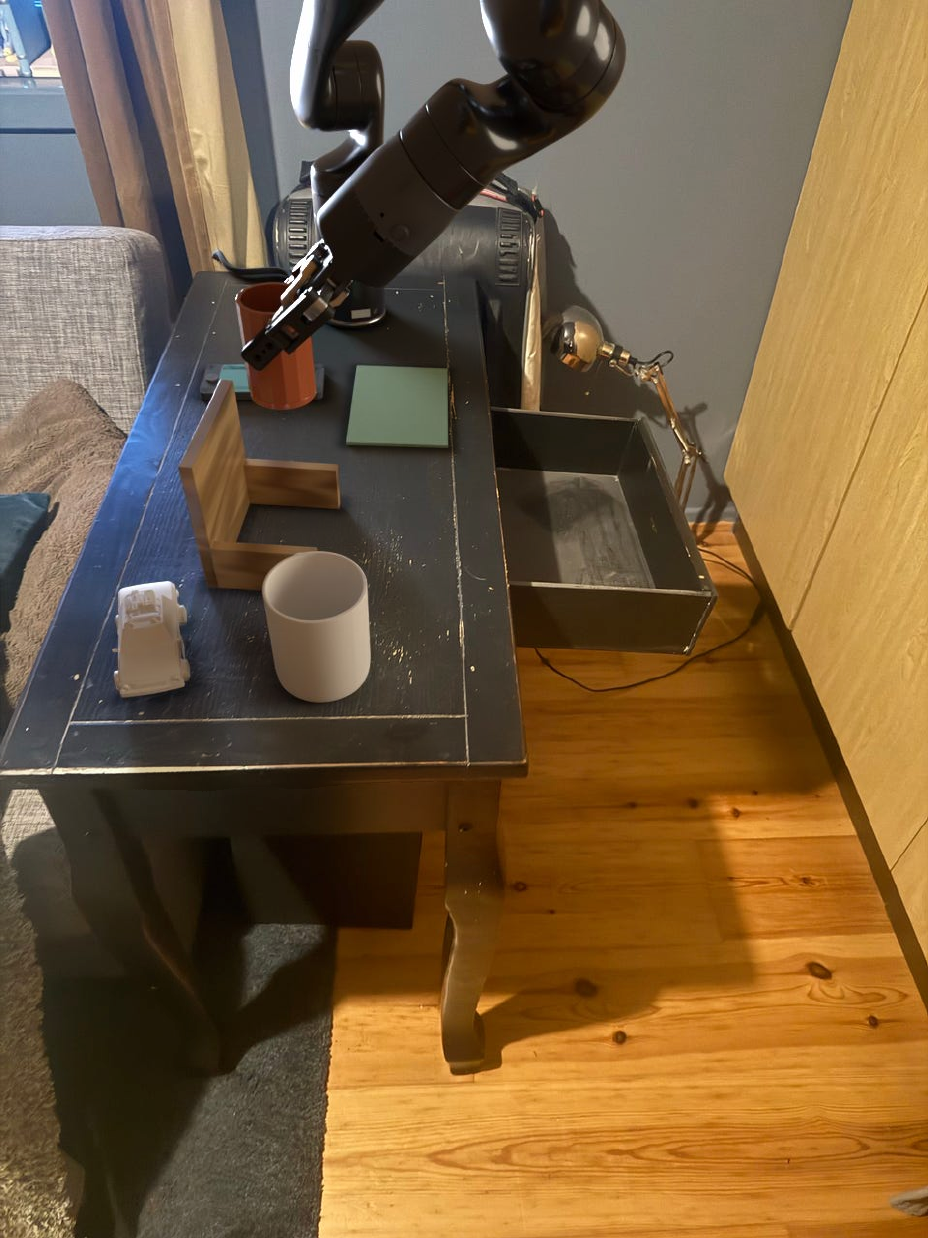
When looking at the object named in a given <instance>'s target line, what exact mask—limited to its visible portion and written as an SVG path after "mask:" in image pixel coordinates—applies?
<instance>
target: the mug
mask: <svg viewBox="0 0 928 1238" xmlns="http://www.w3.org/2000/svg"><path fill="white" fill-rule="evenodd" d="M261 596H262V601H263V605H264V611H265V618H266V623H267V629H268V634H269V640H270V645H271V653H272V657H273V664H274V669H275V673H276V676H277V678H278V681H279V682H280V684H281V686H282V687H283V688H284V689H285V690H286V691H287V692H288V693H289V694H291V695H292V696H293V697H295V698H297V699H300V700H302V701H305V702H309V703H320V704H321V703H322V704H323V703H331V702H336V701H339V700H342V699H345V698H347V697H348V696H350V695H352V694H353V693H355V692H357V690H358V689H359V688H361V686H362V685H363V684H364V682H366V679H367V678H368V676H369V672H370V668H371V659H372V657H371V656H372V655H371V654H372V653H371V634H370V633H371V632H370V615H369V613H370V611H369V591H368V580H367V577H366V574H365V572H364V571H363V569H362V568H361V566H359V565H358V564H357V563H356V562H355V561H354V560H353V559H351V558H349V557H348V556H344V555H342V554H339V553H335V552H331V551H324V550H323V551H322V550H321V551H318V550H317V551H314V552H305V553H296V554H294V555H293V556H291V557H288V558H286V559H284V560H282V561H281V562H279V563H278V564H276V565H275V566H274V567H273V568H272V569H271V570H270V571H269V572H268V574H267V575H266V577H265V579H264V582H263V586H262V591H261Z"/></svg>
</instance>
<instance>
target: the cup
mask: <svg viewBox="0 0 928 1238" xmlns="http://www.w3.org/2000/svg"><path fill="white" fill-rule="evenodd" d="M290 286H291V284H287V283H285V282H279V281H267V282H260V283H255V284H252V285H249V286H247V287H244V288H242V289H241V290H240V291H239V292H238V293H237V294H236V297H235V301H234V302H235V308H236V315H237V319H238V328H239V333H240V339H241V340H240V341H241V345H242V349H243V348H244V347H245V346H246V345H247V344H248V343H249V342H250V341H251V340H252V339H253V338H254V337H255V336H256V335H257V334H258V333H259V332H260V331H261V330H262V329H263V328H264V327H265V326H266V325H267V321H268V320H269V319H271V318H272V317H273V316H274V315H275V314H276V312H277V311H278V310H279V309H280V308H281V306H282V303H281V296H282V295H283V294H284V293H285V292H286V290H287V289H288V288H289V287H290ZM298 299H299V298H298V297H297V296H296V295H294V297H293V300H294V303H295V302H296V301H297V300H298ZM284 326H285V327H286V328H288V329H289V330H290V331H291V332H293V331H294V329H293V328H292V327H291V326H290V325H288V324H285V325H284ZM313 341H314V340H313V335H311V336H310V337H309V338H308V339H307V340H306V341H305V342H304V343H302V344H301V345H300V346H299V347H298V348H297V349H296V351H295V352H294V353H291V354H290V355H288V354H287V353H286V352H285V351H284V350H283V351H282V352H280V353H279V354H278V355H277V356H276V357H275V358H274V359H273V360H272V361H271V362H270V363H269V364H268V365H267V366H266V367H265V368H264V369H263V370H261V371H258V370H255V369H254V368H253V367H252V366H251V365H250V364H248V363H247V362H246V361H245V360H244V364H245V366H246V372H247V379H248V385H249V390H250V394H251V397H252V399H253V400H252V401H253V402H254V403H255V404H257V405H258V406H261V407H263V408H266V409H270V410H278V411H286V410H287V411H288V410H294V409H298V408H302V407H303V406H306V405H307V404H309V403H310V402H312V401H314V400H313V399H314V397H315V395H316V375H315V364H316V363H315V352H314V343H313Z"/></svg>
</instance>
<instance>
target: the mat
mask: <svg viewBox="0 0 928 1238" xmlns="http://www.w3.org/2000/svg"><path fill="white" fill-rule="evenodd" d="M448 399H449V398H448V368H444V367H441V368H440V367H415V366H389V365H388V366H387V365H386V366H385V365H364V364H363V365H361V364H357V365H356V371H355V377H354V385H353V391H352V398H351V405H350V413H349V419H348V426H347V434H346V441H345V445H347V446H370V447H371V446H372V447H373V446H376V447H377V446H378V447H401V448H402V447H405V448H432V449H433V448H435V449H436V448H437V449H438V448H439V449H448V448H449V420H448V419H449V411H448V408H449V406H448V404H449V403H448V401H449V400H448Z"/></svg>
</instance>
